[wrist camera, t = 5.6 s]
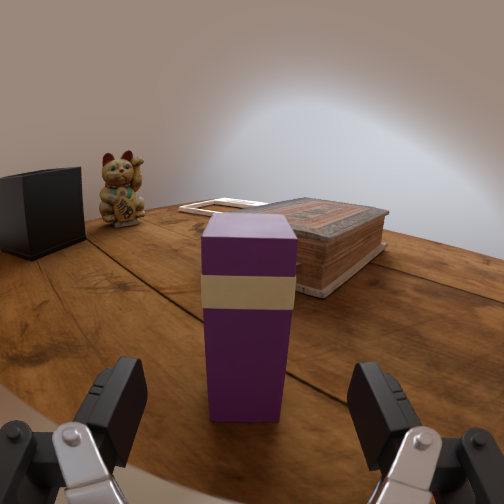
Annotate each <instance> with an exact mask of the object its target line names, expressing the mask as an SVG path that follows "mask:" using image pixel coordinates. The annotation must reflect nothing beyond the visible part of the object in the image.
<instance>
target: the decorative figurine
mask: <svg viewBox="0 0 504 504" xmlns="http://www.w3.org/2000/svg"><path fill="white" fill-rule="evenodd" d="M143 162H144V160H143V159H142V158H141V157H134V158H133V154H132V152H131V151H130V150H128V151H125V152H124V153H123V155H122V156H121V158H120V159H117V160H115V159H114V157H113V155H112V154H111V153H106V154H105V155H104V157H103V168H102V177H103V179H104V181H105V182H106V184H105V187H103V189H102V190H101V192H100V198H101V200H102V201H101V203H100V206H99V210H100V213H101V215H102V218H103V220H104V221H105V222H108V223H110V222H112V224H113V226H114V227H116V228H117V227H124V226H130V225H135V224H137V219H136V218H140V217H144V216H145V213H144V211H143V209H144V205H145V203H144V199H143V198H141V197H138V196H136V194H135V192H136V191H137V190H138V189H139V188H140V186H141V183H142V175H141V172H140V165H141V164H142V163H143Z"/></svg>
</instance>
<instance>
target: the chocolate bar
mask: <svg viewBox="0 0 504 504" xmlns="http://www.w3.org/2000/svg"><path fill="white" fill-rule="evenodd" d="M297 248H298V238H297V237H296V235H295V233H294V231H293V229H292V228H291V226H290V224H289V222H288V221H287V219H286V217H285V215H280V214H246V213H213V215H212V217H211V219H210V220H209V222H208V224H207V226H206V228H205V230H204V232H203V234H202V236H201V258H202V274H201V300H202V308H203V317H204V338H205V356H206V372H207V386H208V400H209V412H210V421H219V422H279V418H280V411H281V403H282V396H283V388H284V380H285V371H286V363H287V354H288V345H289V336H290V326H291V316H292V310H293V309H294V298H295V288H296V276H295V273H296V260H297Z"/></svg>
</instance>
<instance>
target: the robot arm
mask: <svg viewBox="0 0 504 504" xmlns="http://www.w3.org/2000/svg"><path fill="white" fill-rule="evenodd" d="M146 403H147V385H146V381H145V376H144V371H143V367H142V362H141V360H140V359H139V358H130V357H122V356H121V357H120V358H119V359H118V361H117V363H116V365H115V367H114V368H106V369H105V370H104V371H103V372H101V373H100V374H99V375H98V376H97V378H96V380H95V381H94V383H93V386H92V387H91V388H90V390H89V394H87V396H86V397H85V399H84V401H83V403H82V405H81V407H80V408H79V410H78V412H77V414H76V416H75V418H74V420H73V421H72V422H67V423H64V424H62V425H60V426H59V427H57V428H56V430H55V431H54V432H32V430H31V429H30V427H29V425H27V424H26V423H25V422H23V421H18V420H15V421H10V422H8V423H6V424H5V425H3V426H2V428H1V429H0V504H54V503H55V500H56V497H57V494H58V491H59V488H60V487H67V488H65V489H64V492H65V496H66V499H67V501H68V504H128V502H127V501H126V499H125V497H124V495H123V493H122V491H121V490H120V488H119V486H118V484H117V482H116V480H115V478H114V476H113V474H112V473H113V470H114V467H115V466H119V467H124V468H125V467H126V463H127V460H128V457H129V454H130V451H131V448H132V445H133V442H134V438H135V435H136V432H137V429H138V426H139V423H140V420H141V417H142V415H143V412H144V409H145V406H146ZM347 405H348V409H349V411H350V414H351V417H352V420H353V423H354V426H355V429H356V432H357V435H358V438H359V441H360V444H361V447H362V450H363V453H364V456H365V459H366V462H367V465H368V468H369V471H373V470H379V469H380V471H381V474H382V475H381V477H380V479H379V480H378V482H377V484H376V486H375V488H374V490H373V492H372V494H371V496H370V498H369V500H368V501H367V503H366V504H429V503H430V500H431V497H432V493H433V496H434V499H435V502H436V504H504V456H503V454H502V452H501V450H500V449H499V447H498V445H497V443H496V442H495V440H494V438H493V437H492V435H491V434H490V433H489V432H488V431H486V430H485V429H482V428H477V427H476V428H470V429H468V430H467V431H466V432H465V433H464V434H463V436H462V437H461V438H441V437H440V435H439V434H438V433H437V432H436V431H435V430H433V429H431V428H428V427H424V426H422V424H421V422H420V420H419V418H418V417H417V415H416V413H415V411H414V409H413V407H412V406H411V404H410V402H409V400H407V397H406V395H405V393H404V392H403V389H402V388H401V386H400V384H399V382H398V381H397V380H396V379H395V378H394V377H392V376H391V375H390V374H389V373H385V374H383V373H382V371H381V369H380V367H379V365H378V363H377V362H365V363H357V364H356V365H355V368H354V371H353V375H352V379H351V382H350V386H349V389H348V393H347ZM468 480H469V482H470V484H469V482H468ZM470 485H471V486H470ZM471 487H472V488H471ZM472 489H473V491H472ZM473 492H474V493H473ZM474 494H475V496H474Z"/></svg>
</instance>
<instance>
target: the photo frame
mask: <svg viewBox="0 0 504 504" xmlns="http://www.w3.org/2000/svg"><path fill="white" fill-rule="evenodd" d="M211 204H220V205H227V206H234V207H241V208H249V207H255V206H260V205H265V204H269V203H261V202H254V201H246V200H238V199H230V198H221V199H216V200H211V201H206V202H201V203H196V204H191V205H186V206H181V207H179V211H183V212H190V213H196V214H202V215H208V216H212V215H213V213H220V212H214V211H207V210H201V209H194V208H197V207H202V206H206V205H211Z"/></svg>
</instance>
